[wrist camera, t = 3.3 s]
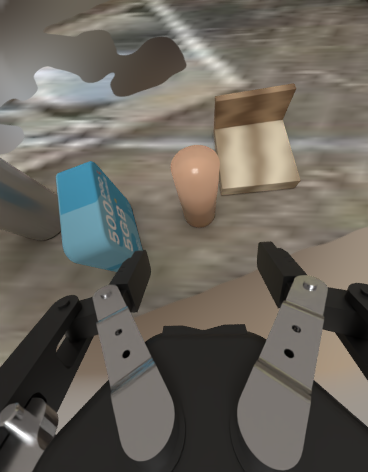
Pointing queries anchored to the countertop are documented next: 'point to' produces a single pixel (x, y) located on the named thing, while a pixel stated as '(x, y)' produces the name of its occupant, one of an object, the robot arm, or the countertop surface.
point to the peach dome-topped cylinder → (197, 183)
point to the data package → (95, 219)
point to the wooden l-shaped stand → (254, 141)
